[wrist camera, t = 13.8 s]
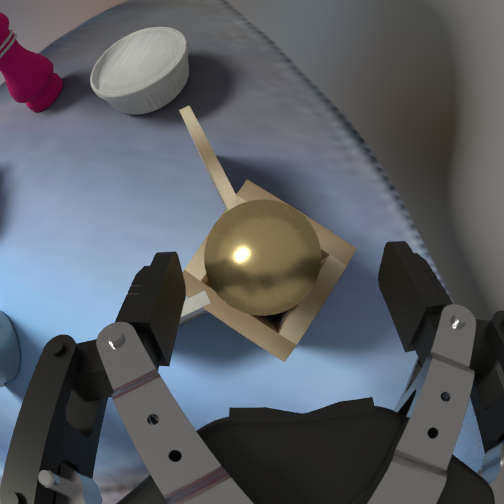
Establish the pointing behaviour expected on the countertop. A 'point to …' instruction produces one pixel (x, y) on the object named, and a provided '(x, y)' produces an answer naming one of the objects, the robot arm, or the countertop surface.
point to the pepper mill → (27, 72)
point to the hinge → (251, 326)
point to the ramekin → (142, 70)
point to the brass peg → (262, 257)
